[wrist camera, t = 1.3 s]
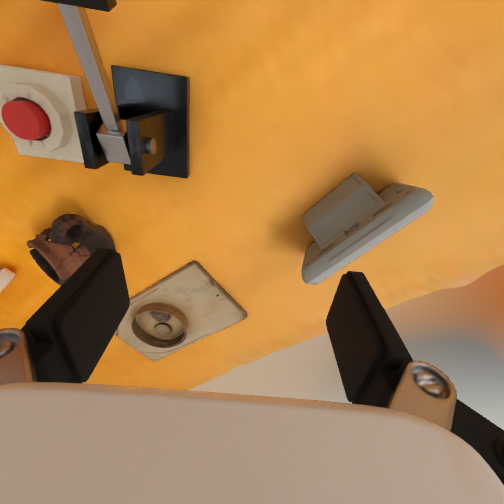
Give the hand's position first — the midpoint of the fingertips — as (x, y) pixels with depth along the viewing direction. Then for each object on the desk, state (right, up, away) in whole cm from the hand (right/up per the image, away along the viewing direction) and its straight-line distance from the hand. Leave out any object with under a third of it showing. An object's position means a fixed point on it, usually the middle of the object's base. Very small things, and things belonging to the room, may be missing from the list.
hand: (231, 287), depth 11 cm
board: (-14, -11, +38) cm, 42 cm away
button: (-23, +16, +17) cm, 32 cm away
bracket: (-11, +17, +20) cm, 28 cm away
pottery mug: (-25, +4, +29) cm, 38 cm away
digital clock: (+14, +7, +26) cm, 31 cm away
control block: (-23, +18, +20) cm, 35 cm away
